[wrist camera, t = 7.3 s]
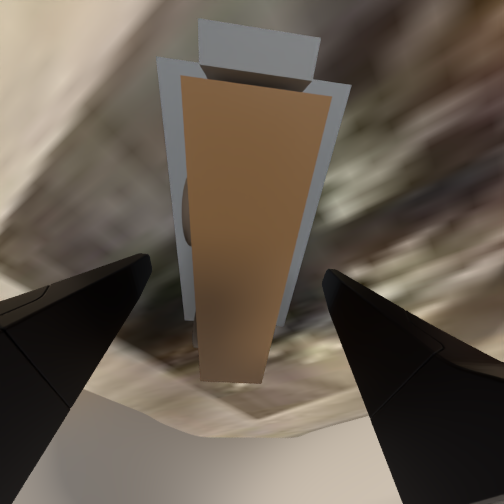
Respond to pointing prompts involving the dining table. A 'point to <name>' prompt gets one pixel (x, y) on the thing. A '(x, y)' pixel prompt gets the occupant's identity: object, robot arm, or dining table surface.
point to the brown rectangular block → (244, 213)
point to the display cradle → (251, 73)
